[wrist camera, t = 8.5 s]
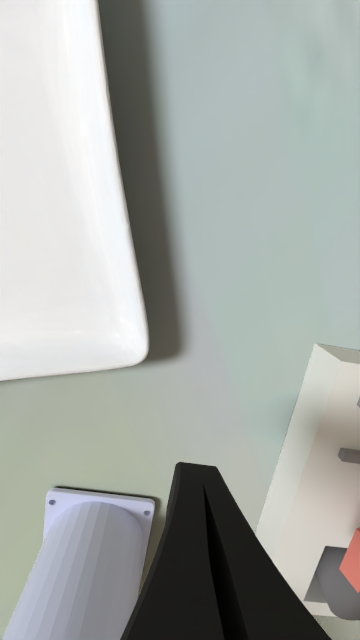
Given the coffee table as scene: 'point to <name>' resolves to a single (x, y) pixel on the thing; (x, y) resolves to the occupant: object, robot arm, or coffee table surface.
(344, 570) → the plate
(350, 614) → the button
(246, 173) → the coffee table surface
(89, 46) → the salad plate
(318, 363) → the panel
